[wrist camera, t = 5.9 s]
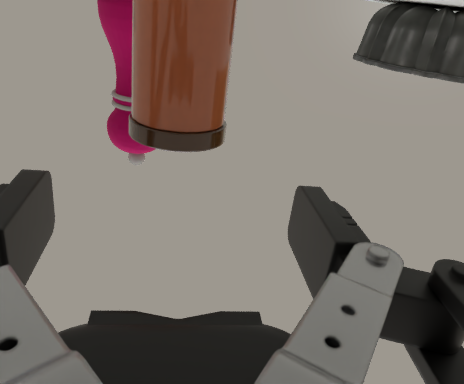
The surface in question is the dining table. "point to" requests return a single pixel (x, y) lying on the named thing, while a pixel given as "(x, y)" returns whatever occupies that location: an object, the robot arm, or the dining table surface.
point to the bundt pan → (415, 41)
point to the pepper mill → (121, 75)
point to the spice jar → (181, 72)
